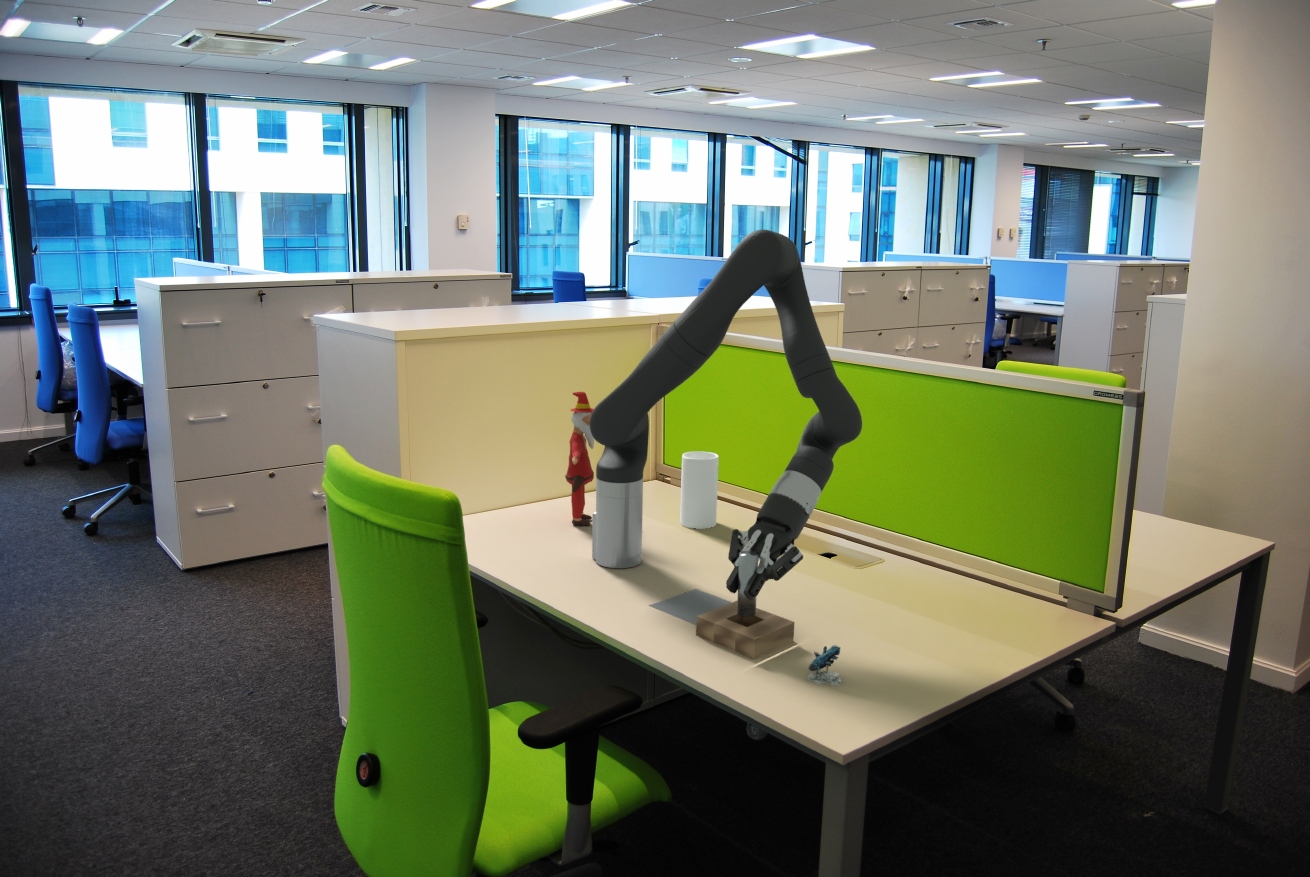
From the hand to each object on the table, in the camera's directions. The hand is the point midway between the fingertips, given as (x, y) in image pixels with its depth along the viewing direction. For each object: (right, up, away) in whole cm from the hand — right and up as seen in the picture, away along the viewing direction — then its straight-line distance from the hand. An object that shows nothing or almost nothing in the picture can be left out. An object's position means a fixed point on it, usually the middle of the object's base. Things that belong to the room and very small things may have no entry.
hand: (739, 593), depth 145 cm
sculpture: (+12, -12, -10) cm, 19 cm away
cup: (-3, +5, +65) cm, 65 cm away
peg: (+1, -4, +2) cm, 5 cm away
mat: (-5, -5, +15) cm, 17 cm away
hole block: (+1, -8, +3) cm, 9 cm away
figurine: (-30, +5, +63) cm, 71 cm away
